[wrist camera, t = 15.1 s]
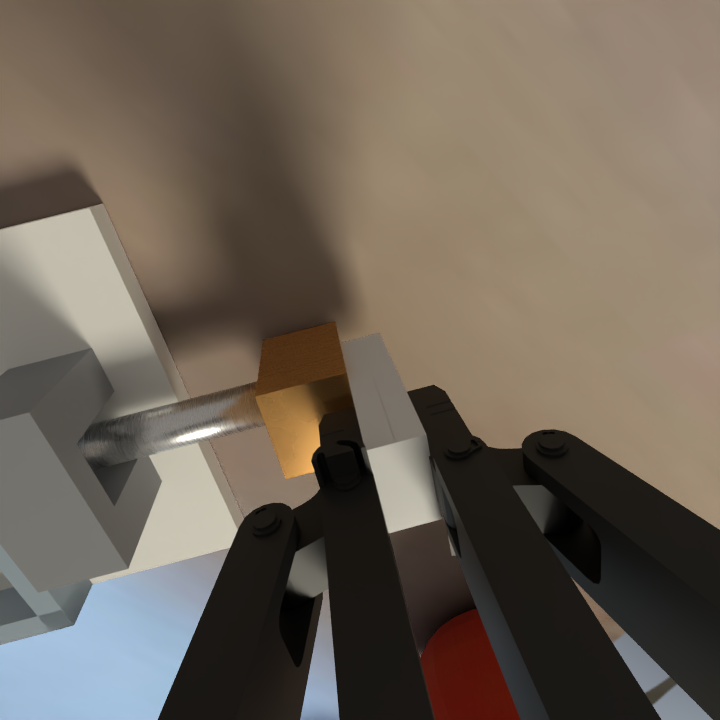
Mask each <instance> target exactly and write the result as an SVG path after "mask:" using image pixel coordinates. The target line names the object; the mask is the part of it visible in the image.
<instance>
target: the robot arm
mask: <svg viewBox="0 0 720 720" xmlns="http://www.w3.org/2000/svg"><path fill="white" fill-rule="evenodd" d="M340 345H341V349H342V354H343V358H344V362H345V366H346V371H347V375H348V379H349V384H350V389H351V393H352V397H353V401H354V406H355V407H351V408H347V409H344V410H340V411H336V412H332V413H328V414H324V416H323V418H322V420H321V421H320V423H319V425H318V426H319V436H320V447H318V448H317V450H316V451H315V452H314V453H313V456H312V460H311V462H312V465H313V468H314V471H315V474H316V477H317V480H318V483H319V486H320V490H319V491H318V492H317V494H316V495H315V496H313V497H312V498H311V499H310V500H309V501H307V502H305V503H304V504H302V505H300V506H298V507H297V508H295V509H293V510H292V509H291V508H290V507H289V506H287V505H285V504H283V503H271V504H267V505H263V506H261V507H259V508H257V509H255V510H253V511H252V512H251V513H250V514H249V515H247V516H246V517H245V518H244V520H243V521H242V523H241V525H240V526H239V528H238V531H237V533H236V535H235V538H234V540H233V543H232V545H231V547H230V550H229V552H228V554H227V557H226V559H225V562H224V564H223V566H222V569H221V571H220V573H219V576H218V578H217V580H216V583H215V585H214V588H213V590H212V592H211V595H210V597H209V599H208V602H207V604H206V607H205V609H204V611H203V614H202V616H201V618H200V621H199V623H198V626H197V628H196V630H195V633H194V635H193V637H192V640H191V642H190V644H189V647H188V649H187V652H186V654H185V656H184V659H183V661H182V663H181V666H180V668H179V671H178V673H177V675H176V678H175V680H174V682H173V685H172V687H171V690H170V692H169V694H168V697H167V699H166V701H165V704H164V706H163V709H162V711H161V713H160V716H159V718H158V720H300V717H301V712H302V706H303V701H304V696H305V690H306V685H307V680H308V674H309V669H310V664H311V658H312V653H313V648H314V642H315V637H316V632H317V626H318V621H319V616H320V610H321V605H322V600H323V591H325V590H326V589H328V588H329V600H330V611H331V623H332V635H333V647H334V659H335V671H336V682H337V694H338V706H339V718H340V720H435V716H434V712H433V708H432V704H431V700H430V696H429V692H428V688H427V684H426V680H425V676H424V672H423V668H422V664H421V660H420V656H419V652H418V648H417V644H416V640H415V636H414V632H413V628H412V624H411V620H410V616H409V612H408V608H407V604H406V600H405V596H404V592H403V588H402V584H401V580H400V576H399V572H398V568H397V564H396V560H395V556H394V552H393V548H392V544H391V541H390V537H389V533H392V532H396V531H399V530H403V529H407V528H410V527H414V526H418V525H422V524H425V523H429V522H433V521H437V520H440V519H442V514H441V511H442V513H443V516H444V518H445V522H446V527H447V533H448V538H449V544H450V549H451V554H452V556H454V555H456V557H457V559H458V562H459V564H460V567H461V569H462V572H463V574H464V577H465V580H466V582H467V585H468V587H469V590H470V592H471V595H472V597H473V600H474V602H475V605H476V608H477V610H478V613H479V615H480V618H481V620H482V623H483V625H484V628H485V630H486V633H487V635H488V638H489V641H490V643H491V646H492V648H493V651H494V653H495V656H496V658H497V661H498V663H499V666H500V669H501V671H502V674H503V676H504V679H505V681H506V684H507V686H508V689H509V691H510V694H511V696H512V699H513V702H514V704H515V707H516V709H517V712H518V714H519V717H520V719H521V720H661V718H660V717H659V715H658V714H657V712H656V710H655V709H654V707H653V706H652V704H651V703H650V701H649V699H648V698H647V696H646V695H645V693H644V692H643V690H642V689H641V687H640V685H639V684H638V682H637V681H636V679H635V678H634V676H633V674H632V673H631V671H630V670H629V668H628V666H627V665H626V663H625V662H624V660H623V659H622V657H621V656H620V654H619V652H618V651H617V649H616V648H615V646H614V644H613V643H612V641H611V640H610V638H609V637H608V635H607V633H606V632H605V630H604V629H603V627H602V626H601V624H600V622H599V621H598V619H597V618H596V616H595V615H594V613H593V611H592V610H591V608H590V607H589V605H588V604H587V602H586V600H585V599H584V597H583V596H582V594H581V593H580V591H579V590H578V588H577V586H576V585H575V583H574V582H573V580H572V579H571V577H572V578H573V579H574V580H575V581H576V582H577V583H578V584H579V585H580V586H581V587H582V588H583V589H584V591H585V592H586V593H587V594H588V595H589V596H590V597H591V598H592V599H593V600H594V601H595V602H596V603H597V604H598V605H599V606H600V607H601V608H602V609H603V610H604V611H605V612H606V613H607V614H608V615H609V616H610V617H611V618H612V619H613V620H614V621H615V622H616V623H617V624H618V625H619V626H620V627H621V628H622V629H623V630H624V631H625V632H626V633H627V634H628V635H629V636H630V637H631V638H633V640H634V641H635V642H636V643H637V644H638V645H639V646H641V648H642V649H643V650H644V651H645V652H646V653H647V654H648V655H649V656H650V657H651V658H652V659H653V660H654V661H655V662H656V663H657V664H658V665H659V666H660V667H661V668H662V669H663V670H664V671H665V672H666V673H667V674H668V675H669V676H670V677H671V678H672V679H673V680H674V681H675V682H676V683H677V684H678V685H679V686H680V687H681V688H682V689H683V690H684V691H685V692H686V693H687V694H688V695H689V696H690V697H691V698H692V699H693V700H694V701H695V702H696V703H697V704H698V705H699V706H700V707H701V708H702V709H703V710H704V711H705V712H706V713H707V714H708V715H709V716H710V717H711V718H712V719H713V720H720V530H719V529H717V528H716V527H714V526H713V525H711V524H710V523H708V522H707V521H705V520H704V519H702V518H701V517H699V516H697V515H696V514H694V513H693V512H691V511H690V510H688V509H687V508H685V507H684V506H682V505H680V504H679V503H677V502H676V501H674V500H673V499H671V498H670V497H668V496H667V495H665V494H664V493H662V492H660V491H659V490H657V489H656V488H654V487H653V486H651V485H650V484H648V483H647V482H645V481H643V480H642V479H640V478H639V477H637V476H636V475H634V474H633V473H631V472H630V471H628V470H627V469H625V468H623V467H622V466H620V465H619V464H617V463H616V462H614V461H613V460H611V459H610V458H608V457H606V456H605V455H603V454H602V453H600V452H599V451H597V450H596V449H594V448H593V447H591V446H590V445H588V444H586V443H585V442H583V441H582V440H580V439H579V438H577V437H576V436H574V435H572V434H569V433H567V432H565V431H559V430H554V429H553V430H541V431H537V432H534V433H532V434H530V435H529V436H527V437H526V438H525V439H524V441H523V443H522V448H518V449H497V448H492V447H488V446H487V445H486V444H485V443H484V442H483V441H482V440H481V439H480V438H478V437H475V436H473V435H472V434H471V433H470V431H469V429H468V428H467V426H466V425H465V423H464V421H463V420H462V418H461V416H460V415H459V413H458V412H457V410H456V409H455V407H454V405H453V403H452V402H451V400H450V399H449V397H448V395H447V394H446V392H445V391H444V390H442V389H440V388H438V387H437V386H435V385H431V386H427V387H424V388H420V389H416V390H412V391H408V392H407V391H406V389H405V387H404V385H403V382H402V380H401V378H400V376H399V374H398V372H397V369H396V367H395V365H394V363H393V361H392V359H391V356H390V354H389V352H388V350H387V348H386V345H385V343H384V341H383V339H382V337H381V335H380V333H376V334H372V335H368V336H365V337H361V338H357V339H353V340H349V341H345V342H341V343H340ZM440 508H441V509H440ZM570 576H571V577H570Z"/></svg>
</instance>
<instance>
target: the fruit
mask: <svg viewBox="0 0 720 720" xmlns="http://www.w3.org/2000/svg"><path fill="white" fill-rule="evenodd" d="M420 660H421V664H422V668H423V672H424V676H425V680H426V684H427V688H428V692H429V696H430V700H431V704H432V708H433V712H434V716H435V720H521V719H520V717H519V714H518V712H517V709H516V707H515V704H514V702H513V699H512V696H511V694H510V691H509V689H508V686H507V684H506V681H505V679H504V676H503V674H502V671H501V669H500V666H499V663H498V661H497V658H496V656H495V653H494V651H493V648H492V646H491V643H490V641H489V638H488V635H487V633H486V630H485V628H484V625H483V623H482V620H481V618H480V615H479V613H478V610H477V609H473V610H470V611H467V612H465V613H463V614H460V615H458V616H456V617H453V618H452V619H451V620H449V621H448V622H446V623H445V624H444V625H442V626H441V627H439V629H438V630H437V631H436V632H435V633H434V635H433V636H432V637H431V638H430V639H429V641H428V643H427V645H426V647H425V649H424V651H423V653H422V655H421V658H420Z"/></svg>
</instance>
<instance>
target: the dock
mask: <svg viewBox="0 0 720 720" xmlns="http://www.w3.org/2000/svg"><path fill="white" fill-rule="evenodd" d="M187 399H190V397H189V395H188V392H187V390H186V388H185V386H184V383H183V381H182V379H181V377H180V374H179V372H178V370H177V368H176V365H175V363H174V361H173V359H172V356H171V354H170V352H169V350H168V347H167V345H166V343H165V341H164V339H163V336H162V334H161V332H160V330H159V327H158V325H157V323H156V321H155V318H154V316H153V314H152V312H151V309H150V307H149V305H148V303H147V300H146V298H145V296H144V294H143V291H142V289H141V287H140V285H139V283H138V280H137V278H136V276H135V274H134V271H133V269H132V267H131V265H130V262H129V260H128V258H127V256H126V253H125V251H124V249H123V247H122V244H121V242H120V240H119V238H118V235H117V233H116V231H115V229H114V226H113V224H112V222H111V220H110V218H109V215H108V213H107V211H106V209H105V206H104V204H103V203H102V204H98V205H94V206H90V207H86V208H82V209H78V210H74V211H70V212H66V213H62V214H58V215H54V216H50V217H46V218H42V219H38V220H34V221H30V222H26V223H22V224H18V225H14V226H10V227H6V228H2V229H0V645H2V644H6V643H9V642H13V641H17V640H20V639H24V638H28V637H32V636H35V635H39V634H43V633H47V632H50V631H54V630H58V629H62V628H65V627H69V626H73V625H74V624H75V622H76V620H77V617H78V615H79V613H80V611H81V609H82V606H83V604H84V602H85V600H86V597H87V595H88V593H89V591H90V589H91V586H92V584H95V583H98V582H102V581H106V580H110V579H113V578H117V577H121V576H125V575H128V574H132V573H136V572H140V571H144V570H147V569H151V568H155V567H159V566H162V565H166V564H170V563H174V562H177V561H181V560H185V559H189V558H193V557H196V556H200V555H204V554H208V553H211V552H215V551H219V550H223V549H226V548H230V547H231V545H232V543H233V540H234V538H235V535H236V533H237V531H238V528H239V526H240V525H241V523H242V521H243V520H244V518H243V516H242V513H241V511H240V509H239V507H238V504H237V502H236V500H235V498H234V495H233V493H232V491H231V489H230V486H229V484H228V482H227V480H226V477H225V475H224V473H223V471H222V469H221V466H220V464H219V462H218V460H217V457H216V455H215V453H214V451H213V448H212V446H211V444H210V442H209V440H207V441H204V442H200V443H196V444H192V445H188V446H184V447H180V448H177V449H173V450H169V451H165V452H161V453H157V454H154V455H150V456H146V457H142V458H138V459H134V460H131V461H127V462H123V463H119V464H115V465H111V466H107V467H104V468H100V469H96V470H92V469H91V467H90V466H89V464H88V462H87V461H86V459H85V457H84V456H83V454H82V452H81V451H80V449H79V447H78V446H77V443H78V441H79V440H80V439H81V437H82V436H83V434H84V433H85V432H86V430H87V429H88V427H89V426H90V425H91V424H94V423H98V422H101V421H105V420H109V419H113V418H117V417H121V416H125V415H129V414H132V413H136V412H140V411H144V410H148V409H152V408H156V407H160V406H163V405H167V404H171V403H175V402H179V401H183V400H187Z"/></svg>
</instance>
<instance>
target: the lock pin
mask: <svg viewBox="0 0 720 720" xmlns="http://www.w3.org/2000/svg"><path fill="white" fill-rule="evenodd" d="M351 407H355V406H354V401H353V397H352V393H351V389H350V384H349V379H348V375H347V371H346V366H345V362H344V358H343V354H342V349H341V345H340V339H339V336H338V332H337V328H336V324H335V322H332V323H328V324H324V325H320V326H316V327H312V328H308V329H304V330H301V331H297V332H293V333H289V334H285V335H281V336H277V337H273V338H269V339H265V340H263V346H262V353H261V359H260V366H259V373H258V380H257V381H256V382H253V383H249V384H245V385H241V386H237V387H233V388H229V389H225V390H222V391H218V392H214V393H210V394H206V395H202V396H198V397H194V398H191V399H187V400H183V401H179V402H175V403H171V404H167V405H163V406H160V407H156V408H152V409H148V410H144V411H140V412H136V413H132V414H129V415H125V416H121V417H117V418H113V419H109V420H105V421H101V422H98V423H94V424H91V425H90V426H89V427H88V429H87V430H86V432H85V433H84V434H83V436H82V437H81V439H80V440H79V441H78V443H77V446H78V447H79V449H80V451H81V452H82V454H83V456H84V457H85V459H86V461H87V462H88V464H89V466H90V467H91V469H92V470H96V469H100V468H104V467H107V466H111V465H115V464H119V463H123V462H127V461H131V460H134V459H138V458H142V457H146V456H150V455H154V454H157V453H161V452H165V451H169V450H173V449H177V448H180V447H184V446H188V445H192V444H196V443H200V442H204V441H207V440H211V439H215V438H219V437H223V436H227V435H230V434H234V433H238V432H242V431H246V430H250V429H254V428H257V427H261V426H265V425H266V428H267V430H268V433H269V436H270V438H271V441H272V444H273V446H274V449H275V452H276V454H277V457H278V460H279V462H280V465H281V468H282V470H283V473H284V476H285V478H286V479H288V478H292V477H296V476H300V475H304V474H307V473H311V472H315V471H314V468H313V465H312V462H311V460H312V456H313V453H314V452H315V451H316V450H317V448H318V447H320V436H319V426H318V425H319V423H320V421H321V420H322V418H323V416H324V414H328V413H332V412H336V411H340V410H344V409H347V408H351Z"/></svg>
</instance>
